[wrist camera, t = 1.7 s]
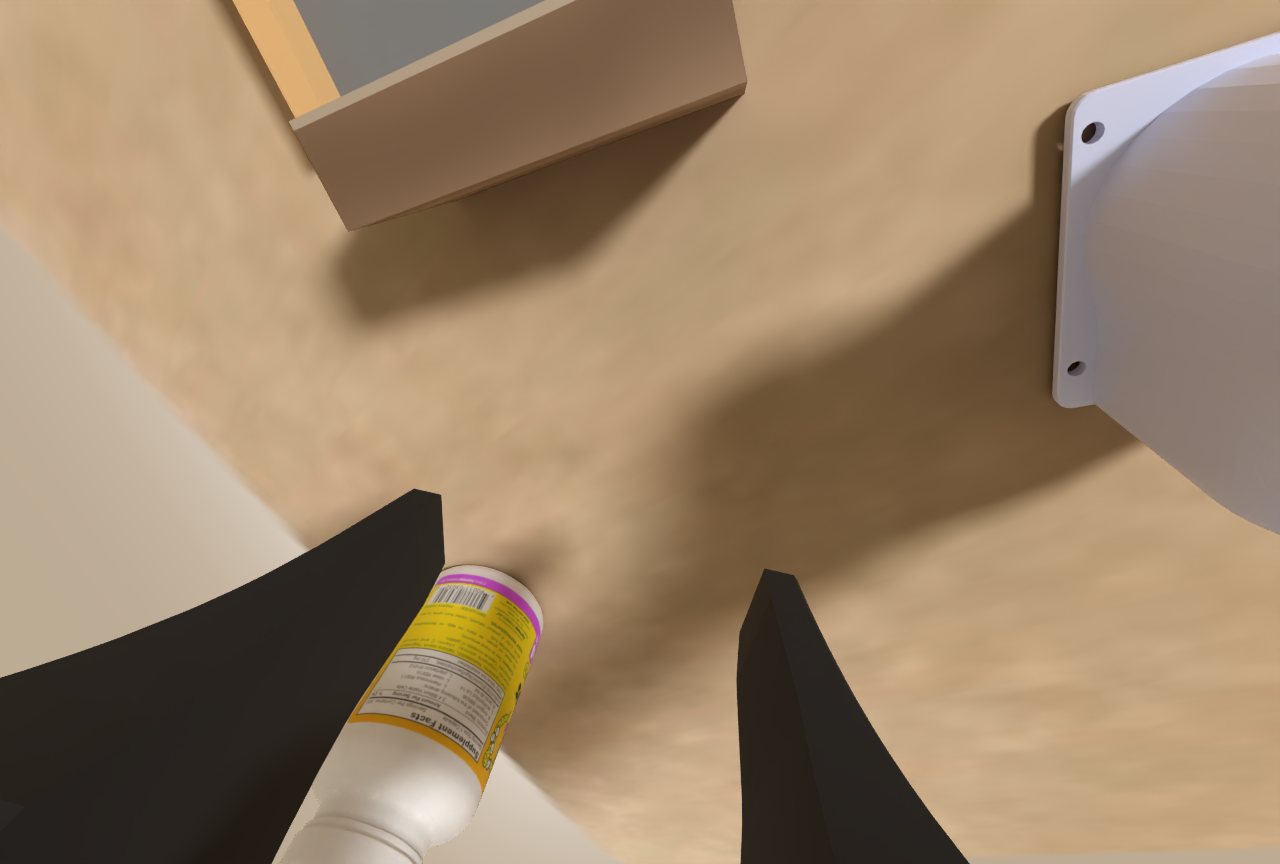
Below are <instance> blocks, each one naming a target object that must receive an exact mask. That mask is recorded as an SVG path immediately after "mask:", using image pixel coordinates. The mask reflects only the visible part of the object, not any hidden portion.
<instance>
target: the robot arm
mask: <svg viewBox="0 0 1280 864" xmlns="http://www.w3.org/2000/svg"><path fill="white" fill-rule="evenodd" d="M1091 123H1094V124H1095V126H1096V132H1095V135H1094V136H1093V137H1092V138H1091V140H1089V141H1088V142H1086V143H1084V142H1082V138H1081V135H1082V132H1083V130H1084V129H1085V128H1086V126H1087V125H1089V124H1091ZM1077 361H1080V363H1079V366H1078V367H1077V368H1076V369H1074V370H1072V371H1067V370H1068V367H1069V366H1070V365H1071V364H1072V363H1074V362H1077ZM1052 395H1053V399H1054V400H1055V401H1056V402H1057V403H1058V404H1059V405H1060V406H1062V407H1065V408H1076V407H1082V406H1088V405H1094V404H1095V405H1096V406H1098V407H1099V408H1100V409H1101V410H1103V411H1104V412H1105V413H1106V414H1108V415H1109V416H1110V417H1111V418H1113V419H1114V420H1115V421H1116V422H1118V423H1119V424H1120V425H1121V426H1123V427H1124V428H1125V429H1126V430H1127V431H1129V432H1130V433H1131V434H1132V435H1134V436H1135V437H1136V438H1137V439H1139V440H1140V441H1141V442H1142V443H1144V444H1145V445H1146V446H1147V447H1149V448H1150V449H1151V450H1152V451H1154V452H1155V453H1156V454H1157V455H1159V456H1160V457H1161V458H1162V459H1164V460H1165V461H1166V462H1167V463H1169V464H1170V465H1171V466H1172V467H1174V468H1175V469H1176V470H1177V471H1179V472H1180V473H1181V474H1182V475H1184V476H1185V477H1186V478H1187V479H1189V480H1190V481H1191V482H1192V483H1194V484H1195V485H1196V486H1197V487H1199V488H1200V489H1201V490H1202V491H1204V492H1205V493H1206V494H1207V495H1209V496H1210V497H1211V498H1212V499H1214V500H1215V501H1216V502H1217V503H1219V504H1220V505H1222V506H1223V507H1225V508H1226V509H1228V510H1230V511H1231V512H1233V513H1234V514H1236V515H1238V516H1240V517H1242V518H1244V519H1246V520H1248V521H1249V522H1251V523H1253V524H1255V525H1258V526H1260V527H1262V528H1265V529H1267V530H1270V531H1272V532H1274V533H1277V534H1279V535H1280V31H1279V32H1275V33H1272V34H1269V35H1266V36H1263V37H1259V38H1256V39H1253V40H1250V41H1247V42H1243V43H1240V44H1237V45H1234V46H1231V47H1228V48H1224V49H1221V50H1218V51H1215V52H1212V53H1208V54H1205V55H1202V56H1199V57H1196V58H1193V59H1189V60H1186V61H1183V62H1180V63H1177V64H1173V65H1170V66H1167V67H1164V68H1161V69H1157V70H1154V71H1151V72H1148V73H1145V74H1142V75H1138V76H1135V77H1132V78H1129V79H1126V80H1122V81H1119V82H1116V83H1113V84H1110V85H1107V86H1103V87H1100V88H1097V89H1094V90H1091V91H1088V92H1086V93H1084V94H1082V95H1080V96H1079V97H1077V98H1076V99H1075V100H1074V101H1073V102H1072V104H1071V105H1070V107H1069V108H1068V110H1067V113H1066V117H1065V132H1064V154H1063V175H1062V196H1061V218H1060V239H1059V260H1058V282H1057V303H1056V324H1055V346H1054V367H1053V388H1052ZM444 564H445V554H444V536H443V519H442V501H441V495H440V494H435V493H431V492H426V491H422V490H418V489H413V490H411V491H409V492H408V493H406V494H404V495H403V496H401V497H399V498H398V499H396V500H394V501H393V502H391V503H389V504H388V505H386V506H384V507H383V508H381V509H379V510H378V511H376V512H375V513H373V514H371V515H370V516H368V517H366V518H365V519H363V520H361V521H360V522H358V523H356V524H355V525H353V526H351V527H350V528H348V529H346V530H345V531H343V532H341V533H339V534H338V535H336V536H334V537H333V538H331V539H329V540H328V541H326V542H324V543H322V544H321V545H319V546H317V547H315V548H314V549H312V550H310V551H308V552H306V553H304V554H302V555H301V556H299V557H297V558H295V559H293V560H291V561H289V562H288V563H286V564H284V565H282V566H280V567H279V568H276V569H275V570H273V571H271V572H269V573H267V574H265V575H263V576H261V577H259V578H257V579H255V580H253V581H251V582H249V583H247V584H245V585H243V586H241V587H239V588H237V589H235V590H232V591H230V592H228V593H226V594H224V595H222V596H219V597H217V598H215V599H213V600H210V601H208V602H206V603H204V604H201V605H199V606H197V607H195V608H192V609H190V610H188V611H185V612H183V613H180V614H178V615H175V616H173V617H170V618H168V619H165V620H163V621H160V622H158V623H155V624H152V625H150V626H147V627H145V628H142V629H140V630H138V631H135V632H132V633H130V634H127V635H125V636H122V637H120V638H117V639H114V640H112V641H109V642H106V643H104V644H100V645H98V646H95V647H92V648H90V649H86V650H84V651H81V652H78V653H75V654H72V655H69V656H66V657H63V658H60V659H57V660H54V661H51V662H48V663H45V664H42V665H39V666H36V667H33V668H30V669H27V670H24V671H21V672H18V673H14V674H11V675H8V676H5V677H2V678H0V864H272V862H273V860H274V857H275V855H276V853H277V851H278V849H279V847H280V845H281V843H282V841H283V839H284V837H285V835H286V833H287V831H288V829H289V827H290V825H291V823H292V821H293V820H294V818H295V816H296V814H297V812H298V810H299V808H300V806H301V804H302V803H303V801H304V799H305V797H306V795H307V793H308V791H309V789H310V787H311V785H312V784H313V782H314V780H315V778H316V776H317V774H318V772H319V770H320V768H321V767H322V765H323V763H324V761H325V759H326V758H327V756H328V754H329V752H330V750H331V749H332V747H333V745H334V743H335V741H336V739H337V738H338V736H339V734H340V732H341V730H342V729H343V727H344V725H345V723H346V722H347V720H348V718H349V717H350V715H351V713H352V712H353V710H354V709H355V707H356V705H357V704H358V702H359V701H360V699H361V698H362V696H363V695H364V693H365V692H366V690H367V689H368V687H369V686H370V684H371V683H372V681H373V680H374V678H375V677H376V675H377V674H378V673H379V671H380V670H381V668H382V667H383V665H384V664H385V662H386V661H387V659H388V658H389V656H390V655H391V653H392V652H393V650H394V649H395V647H396V646H397V645H398V643H399V642H400V640H401V639H402V637H403V636H404V634H405V633H406V631H407V630H408V628H409V627H410V625H411V624H412V622H413V621H414V619H415V618H416V616H417V615H418V613H419V612H420V610H421V608H422V607H423V605H424V603H425V602H426V600H427V598H428V596H429V594H430V592H431V590H432V588H433V586H434V584H435V582H436V580H437V578H438V576H439V574H440V572H441V570H442V568H443V566H444ZM737 704H738V726H739V747H740V767H741V787H742V843H741V864H969V863H968V861H967V860H966V858H965V857H964V856H963V855H962V853H961V852H960V851H959V849H958V848H957V847H956V846H955V844H954V843H953V842H952V840H951V839H950V838H949V836H948V835H947V834H946V833H945V831H944V830H943V829H942V827H941V826H940V825H939V824H938V822H937V821H936V820H935V818H934V817H933V816H932V814H931V813H930V812H929V810H928V809H927V807H926V806H925V805H924V803H923V802H922V800H921V799H920V798H919V796H918V795H917V793H916V792H915V791H914V789H913V788H912V786H911V785H910V784H909V782H908V781H907V779H906V778H905V776H904V775H903V773H902V772H901V770H900V769H899V767H898V766H897V764H896V763H895V761H894V760H893V758H892V757H891V755H890V754H889V752H888V751H887V749H886V747H885V746H884V744H883V743H882V741H881V740H880V738H879V736H878V735H877V733H876V732H875V730H874V728H873V727H872V725H871V723H870V722H869V720H868V718H867V717H866V715H865V713H864V711H863V710H862V708H861V706H860V705H859V703H858V701H857V700H856V698H855V696H854V694H853V692H852V691H851V689H850V687H849V685H848V683H847V682H846V680H845V678H844V676H843V674H842V672H841V670H840V668H839V667H838V665H837V663H836V661H835V659H834V657H833V655H832V653H831V651H830V649H829V647H828V645H827V643H826V641H825V639H824V637H823V635H822V633H821V631H820V629H819V627H818V625H817V623H816V621H815V619H814V617H813V614H812V612H811V610H810V608H809V606H808V604H807V601H806V599H805V597H804V595H803V592H802V590H801V588H800V586H799V583H798V581H797V579H796V578H795V576H794V575H790V574H786V573H781V572H777V571H772V570H768V569H764V571H763V574H762V577H761V579H760V582H759V584H758V587H757V589H756V592H755V595H754V597H753V600H752V602H751V605H750V607H749V610H748V612H747V615H746V618H745V620H744V623H743V625H742V628H741V630H740V635H739V649H738V664H737Z"/></svg>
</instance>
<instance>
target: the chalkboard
mask: <svg viewBox="0 0 1280 864" xmlns="http://www.w3.org/2000/svg"><path fill="white" fill-rule="evenodd" d="M543 1H545V0H233V2H234V4H235V6H236V8H237V10H238V12H239V14H240V15H241V17H242V19H243V21H244V23H245V25H246V27H247V29H248V30H249V32H250V34H251V36H252V38H253V40H254V42H255V44H256V45H257V47H258V49H259V51H260V53H261V55H262V57H263V59H264V60H265V62H266V64H267V66H268V68H269V70H270V72H271V74H272V75H273V77H274V79H275V81H276V83H277V85H278V87H279V89H280V90H281V92H282V94H283V96H284V98H285V100H286V102H287V104H288V105H289V107H290V109H291V111H292V113H293V115H294V117H295V118H297V117H299V116H301V115H303V114H305V113H307V112H310V111H312V110H314V109H316V108H318V107H320V106H322V105H324V104H327V103H329V102H331V101H333V100H335V99H337V98H339V97H341V96H343V95H346V94H348V93H350V92H352V91H354V90H356V89H358V88H360V87H363V86H365V85H367V84H369V83H371V82H373V81H375V80H377V79H379V78H382V77H384V76H386V75H388V74H390V73H392V72H394V71H396V70H399V69H401V68H403V67H405V66H407V65H409V64H411V63H413V62H415V61H418V60H420V59H422V58H424V57H426V56H428V55H430V54H432V53H435V52H437V51H439V50H441V49H443V48H445V47H447V46H449V45H452V44H454V43H456V42H458V41H460V40H462V39H464V38H466V37H468V36H471V35H473V34H475V33H477V32H479V31H481V30H483V29H485V28H488V27H490V26H492V25H494V24H496V23H498V22H500V21H502V20H504V19H507V18H509V17H511V16H513V15H515V14H517V13H519V12H521V11H524V10H526V9H528V8H530V7H532V6H534V5H536V4H538V3H540V2H543Z"/></svg>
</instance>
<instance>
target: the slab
mask: <svg viewBox="0 0 1280 864" xmlns="http://www.w3.org/2000/svg"><path fill="white" fill-rule="evenodd" d="M746 84H747V78H746V72H745V67H744V62H743V56H742V51H741V46H740V40H739V35H738V30H737V24H736V19H735V14H734V8H733V3H732V0H545V1H543V2H540V3H538V4H536V5H534V6H532V7H530V8H528V9H526V10H524V11H521V12H519V13H517V14H515V15H513V16H511V17H509V18H507V19H504V20H502V21H500V22H498V23H496V24H494V25H492V26H490V27H488V28H485V29H483V30H481V31H479V32H477V33H475V34H473V35H471V36H468V37H466V38H464V39H462V40H460V41H458V42H456V43H454V44H452V45H449V46H447V47H445V48H443V49H441V50H439V51H437V52H435V53H432V54H430V55H428V56H426V57H424V58H422V59H420V60H418V61H415V62H413V63H411V64H409V65H407V66H405V67H403V68H401V69H399V70H396V71H394V72H392V73H390V74H388V75H386V76H384V77H382V78H379V79H377V80H375V81H373V82H371V83H369V84H367V85H365V86H363V87H360V88H358V89H356V90H354V91H352V92H350V93H348V94H346V95H343V96H341V97H339V98H337V99H335V100H333V101H331V102H329V103H327V104H324V105H322V106H320V107H318V108H316V109H314V110H312V111H310V112H307V113H305V114H303V115H301V116H299V117H297V118H295V119H293V120H290V121H289V123H290V125H291V127H292V129H293V130H294V132H295V134H296V136H297V138H298V140H299V142H300V143H301V145H302V147H303V149H304V151H305V153H306V155H307V156H308V158H309V160H310V162H311V164H312V166H313V168H314V169H315V171H316V173H317V175H318V177H319V179H320V180H321V182H322V184H323V186H324V188H325V190H326V192H327V193H328V195H329V197H330V199H331V201H332V203H333V205H334V206H335V208H336V210H337V212H338V214H339V216H340V217H341V219H342V221H343V223H344V225H345V227H346V229H347V230H348V232H349V231H352V230H356V229H359V228H363V227H366V226H370V225H373V224H376V223H380V222H383V221H387V220H390V219H394V218H397V217H401V216H404V215H407V214H411V213H414V212H418V211H421V210H425V209H428V208H432V207H435V206H438V205H442V204H445V203H449V202H452V201H456V200H458V199H461V198H464V197H466V196H469V195H472V194H474V193H477V192H480V191H483V190H485V189H488V188H491V187H493V186H496V185H499V184H501V183H504V182H507V181H509V180H512V179H515V178H518V177H520V176H523V175H526V174H528V173H531V172H534V171H536V170H539V169H542V168H545V167H547V166H550V165H553V164H555V163H558V162H561V161H563V160H566V159H569V158H571V157H574V156H577V155H580V154H582V153H585V152H588V151H590V150H593V149H596V148H598V147H601V146H604V145H607V144H609V143H612V142H615V141H617V140H620V139H623V138H625V137H628V136H631V135H633V134H636V133H639V132H642V131H644V130H647V129H650V128H652V127H655V126H658V125H660V124H663V123H666V122H668V121H671V120H674V119H677V118H679V117H682V116H685V115H687V114H690V113H693V112H695V111H698V110H701V109H704V108H706V107H709V106H712V105H714V104H717V103H720V102H722V101H725V100H728V99H730V98H733V97H736V96H739V95H741V94H744V93H745V89H746Z"/></svg>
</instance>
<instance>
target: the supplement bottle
mask: <svg viewBox="0 0 1280 864" xmlns="http://www.w3.org/2000/svg"><path fill="white" fill-rule="evenodd" d="M542 631H543V615H542V611H541V608H540V605H539V604H538V602H537V600H536V599H535V597H534V596H533V594H532V593H531V592H530V591H529V590H528V589H527V588H526V587H525V586H524V585H522V584H521V583H520V582H518V581H517V580H515V579H514V578H512V577H510V576H509V575H507V574H505V573H503V572H500V571H498V570H495V569H492V568H489V567H484V566H477V565H462V566H456V567H452V568H449V569H447V570H444V571H442V572H440V574H439V576H438V578H437V580H436V582H435V584H434V586H433V588H432V590H431V592H430V594H429V596H428V598H427V600H426V602H425V603H424V605H423V607H422V608H421V610H420V612H419V613H418V615H417V616H416V618H415V619H414V621H413V622H412V624H411V625H410V627H409V628H408V630H407V631H406V633H405V634H404V636H403V637H402V639H401V640H400V642H399V643H398V645H397V646H396V647H395V649H394V650H393V652H392V653H391V655H390V656H389V658H388V659H387V661H386V662H385V664H384V665H383V667H382V668H381V670H380V671H379V673H378V674H377V675H376V677H375V678H374V680H373V681H372V683H371V684H370V686H369V687H368V689H367V690H366V692H365V693H364V695H363V696H362V698H361V699H360V701H359V702H358V704H357V705H356V707H355V709H354V710H353V712H352V713H351V715H350V717H349V718H348V720H347V722H346V723H345V725H344V727H343V729H342V730H341V732H340V734H339V736H338V738H337V739H336V741H335V743H334V745H333V747H332V749H331V750H330V752H329V754H328V756H327V758H326V759H325V761H324V763H323V765H322V767H321V768H320V770H319V772H318V774H317V776H316V778H315V780H314V782H313V784H312V789H313V792H314V794H315V797H316V799H317V801H318V802H319V804H320V808H319V809H318V811H317V813H316V815H315V817H314V819H313V820H311V821H309V822H308V823H306V825H305V826H304V828H303V829H302V830H301V831H299V832H298V833H297V834H296V835H295V837H294V839H293V840H292V842H291V844H290V846H289V847H288V849H287V851H286V853H285V854H284V856H283V858H282V859H281V861H280V863H279V864H423V862H422V861H423V859H424V857H425V855H426V853H427V850H428V848H429V847H433V846H438V845H441V844H443V843H446V842H448V841H450V840H452V839H453V838H455V837H456V836H457V835H459V834H460V833H461V832H462V831H463V830H464V829H465V828H466V827H467V825H468V824H469V823H470V821H471V820H472V818H473V816H474V814H475V812H476V810H477V807H478V805H479V802H480V799H481V797H482V794H483V792H484V788H485V786H486V783H487V781H488V778H489V775H490V772H491V770H492V767H493V764H494V761H495V759H496V756H497V754H498V751H499V748H500V745H501V743H502V740H503V738H504V735H505V732H506V730H507V727H508V724H509V721H510V719H511V716H512V714H513V711H514V708H515V705H516V703H517V700H518V697H519V695H520V692H521V690H522V687H523V684H524V681H525V679H526V676H527V674H528V671H529V668H530V665H531V663H532V660H533V657H534V655H535V652H536V649H537V646H538V643H539V640H540V638H541V634H542Z"/></svg>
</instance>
